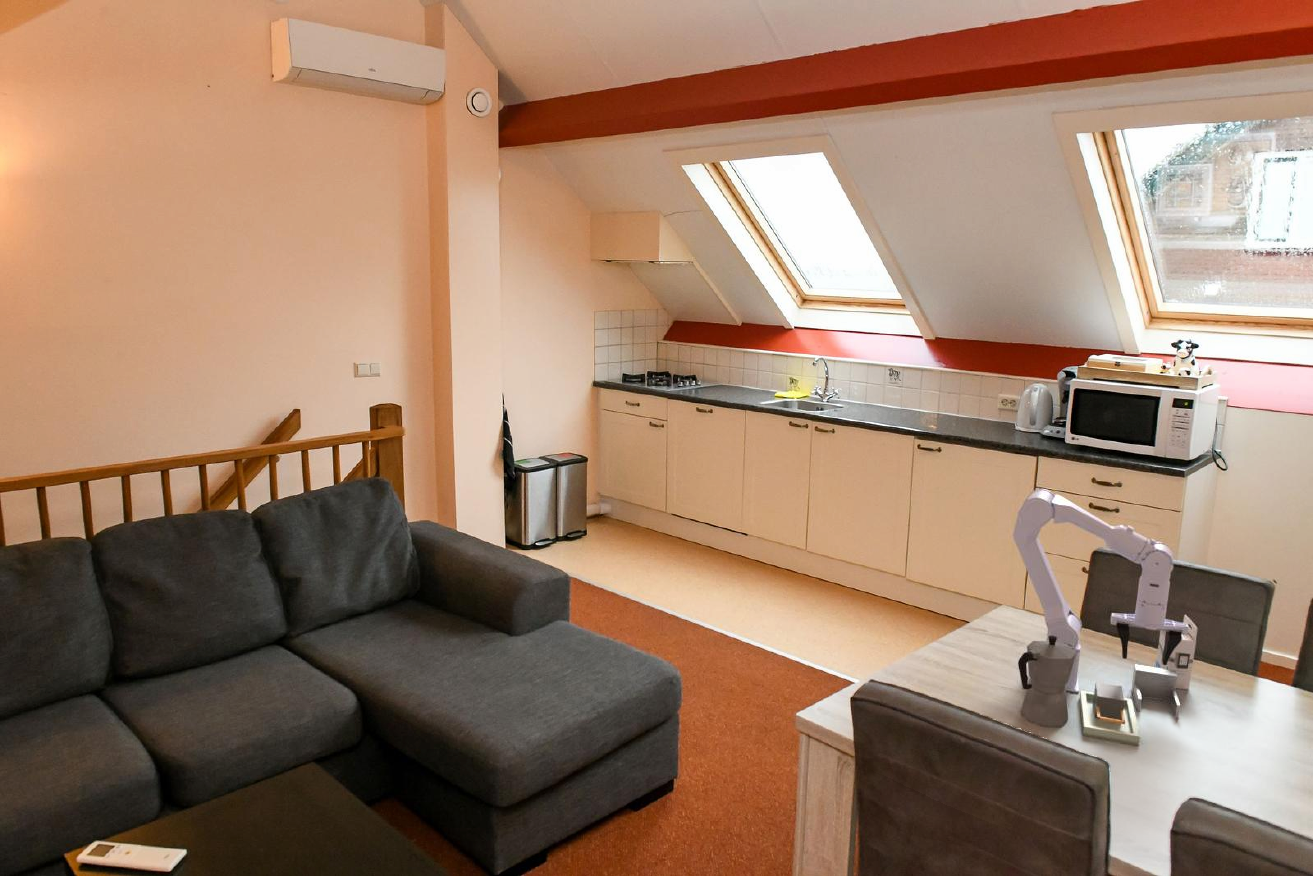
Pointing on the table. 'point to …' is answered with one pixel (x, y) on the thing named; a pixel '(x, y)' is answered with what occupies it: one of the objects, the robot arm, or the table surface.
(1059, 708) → the coffeepot
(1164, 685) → the steel bay
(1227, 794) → the table surface
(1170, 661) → the ink box
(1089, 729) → the green tray
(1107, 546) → the robot arm
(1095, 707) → the orange handle block
